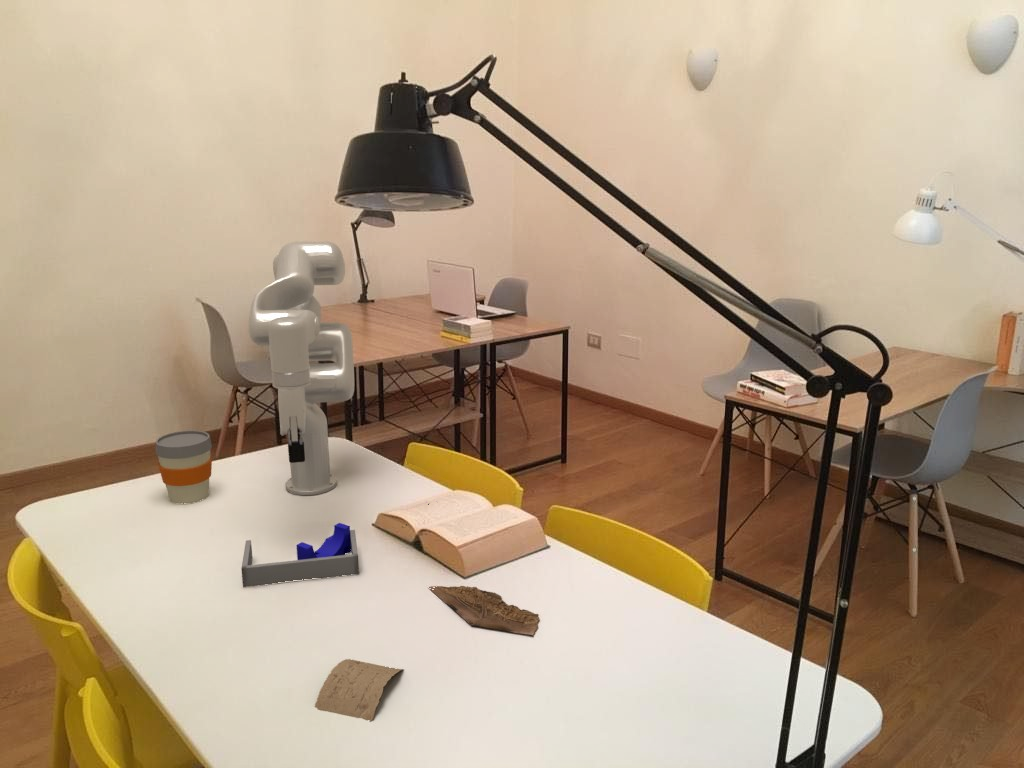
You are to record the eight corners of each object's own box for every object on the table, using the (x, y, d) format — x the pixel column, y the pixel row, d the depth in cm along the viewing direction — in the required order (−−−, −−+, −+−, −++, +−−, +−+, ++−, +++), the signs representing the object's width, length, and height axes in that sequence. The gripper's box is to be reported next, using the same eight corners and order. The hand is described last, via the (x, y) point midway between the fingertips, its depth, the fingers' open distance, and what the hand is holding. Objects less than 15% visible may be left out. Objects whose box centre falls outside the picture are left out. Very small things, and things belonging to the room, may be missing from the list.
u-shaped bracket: (247, 558, 163) (245, 540, 162) (355, 546, 168) (354, 529, 167) (243, 587, 152) (241, 568, 151) (359, 574, 157) (358, 555, 156)
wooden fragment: (554, 624, 141) (555, 619, 141) (514, 651, 133) (514, 646, 133) (454, 576, 158) (454, 571, 157) (412, 597, 150) (412, 592, 149)
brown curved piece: (372, 727, 115) (371, 711, 115) (308, 716, 118) (307, 700, 117) (407, 668, 129) (406, 654, 128) (350, 659, 131) (349, 645, 131)
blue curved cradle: (335, 546, 169) (334, 521, 167) (351, 552, 167) (349, 526, 165) (293, 570, 159) (291, 543, 157) (309, 576, 157) (307, 548, 155)
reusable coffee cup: (205, 507, 187) (198, 447, 183) (152, 507, 187) (144, 447, 183) (224, 486, 199) (218, 430, 195) (174, 486, 199) (168, 429, 195)
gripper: (273, 369, 168) (279, 449, 173) (270, 389, 154) (277, 476, 159) (309, 367, 170) (315, 447, 175) (310, 386, 156) (315, 473, 161)
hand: (297, 460), depth 167 cm, fingers closed
